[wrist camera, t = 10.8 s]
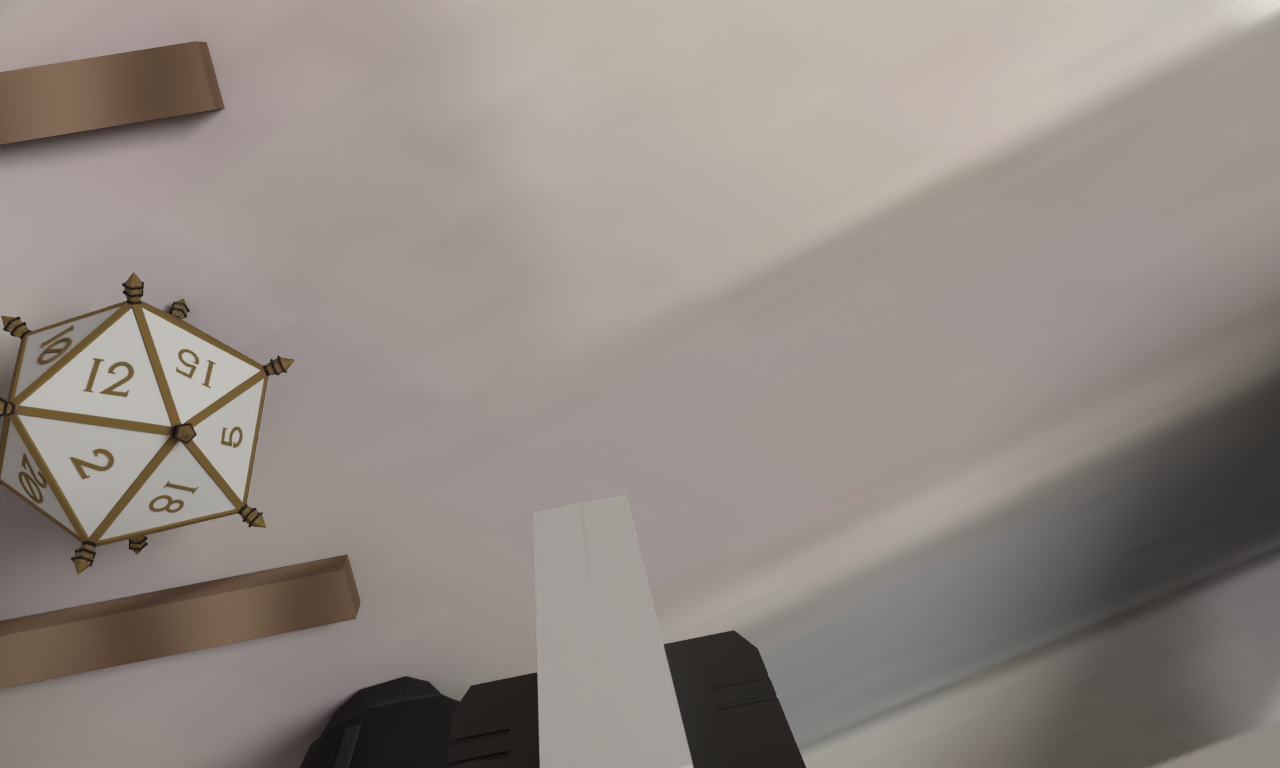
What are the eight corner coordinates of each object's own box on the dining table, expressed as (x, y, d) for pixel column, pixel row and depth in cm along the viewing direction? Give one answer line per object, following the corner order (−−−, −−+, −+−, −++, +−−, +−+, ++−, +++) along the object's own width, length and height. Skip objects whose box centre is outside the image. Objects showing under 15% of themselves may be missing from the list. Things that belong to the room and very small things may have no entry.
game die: (227, 404, 39) (145, 657, 33) (-5, 289, 34) (-150, 565, 28) (369, 307, 34) (304, 583, 28) (124, 156, 29) (-20, 455, 23)
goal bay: (206, 42, 31) (194, 41, 30) (360, 602, 38) (355, 618, 37) (-331, 127, 30) (-363, 129, 29) (-81, 688, 37) (-100, 708, 36)
